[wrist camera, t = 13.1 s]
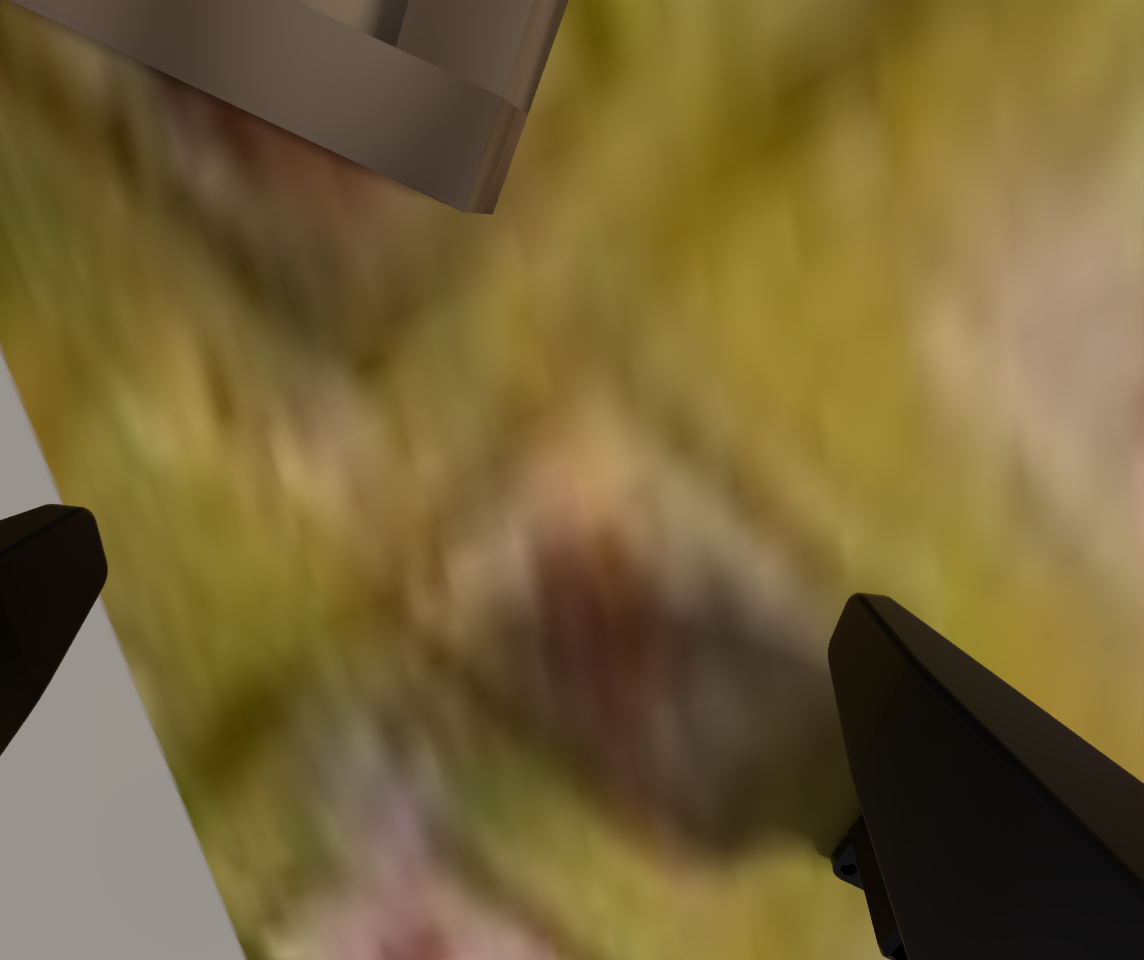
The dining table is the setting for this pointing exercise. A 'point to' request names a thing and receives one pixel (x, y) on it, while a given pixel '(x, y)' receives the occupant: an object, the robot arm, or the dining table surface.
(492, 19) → the brown square tray
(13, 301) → the dining table surface
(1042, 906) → the robot arm
